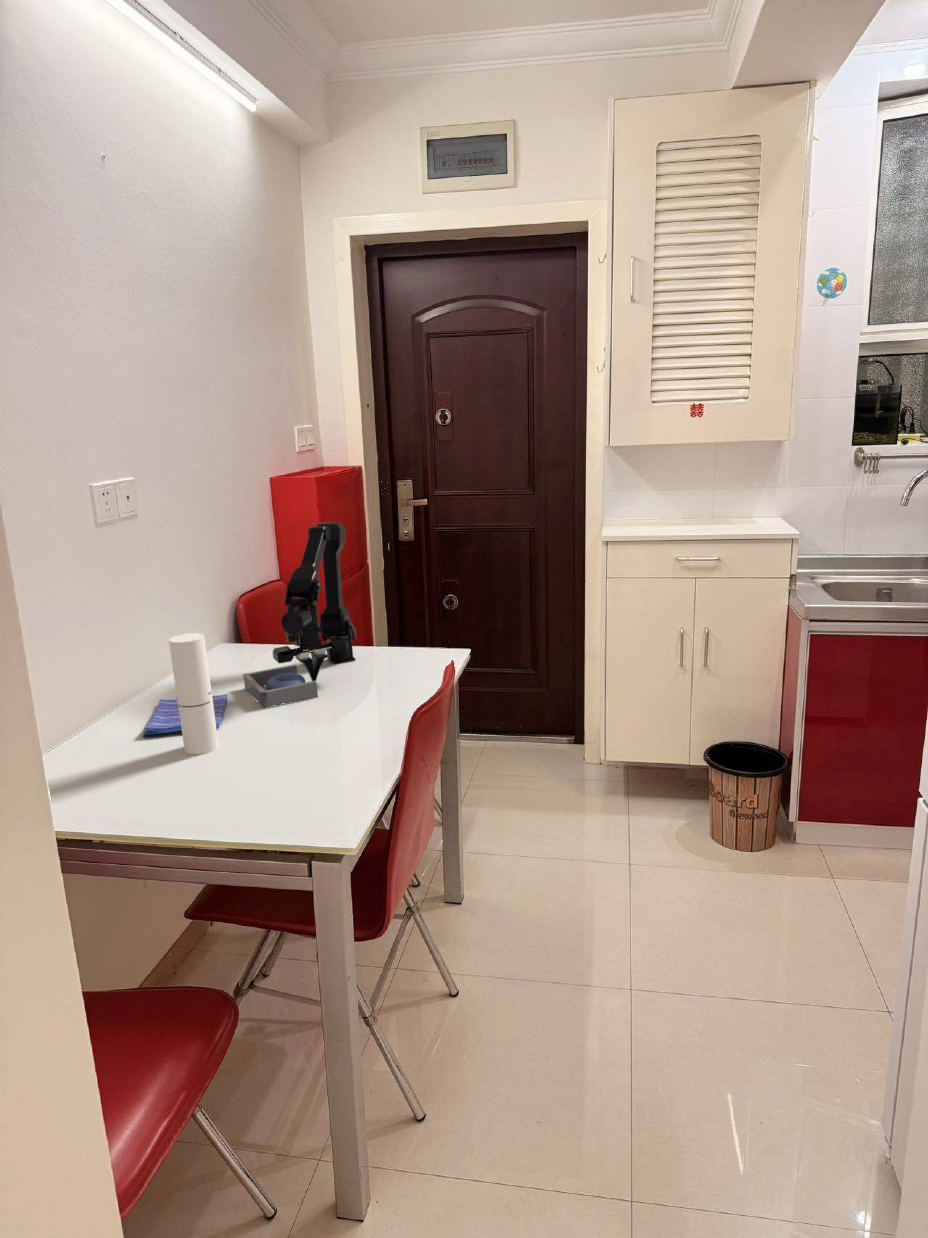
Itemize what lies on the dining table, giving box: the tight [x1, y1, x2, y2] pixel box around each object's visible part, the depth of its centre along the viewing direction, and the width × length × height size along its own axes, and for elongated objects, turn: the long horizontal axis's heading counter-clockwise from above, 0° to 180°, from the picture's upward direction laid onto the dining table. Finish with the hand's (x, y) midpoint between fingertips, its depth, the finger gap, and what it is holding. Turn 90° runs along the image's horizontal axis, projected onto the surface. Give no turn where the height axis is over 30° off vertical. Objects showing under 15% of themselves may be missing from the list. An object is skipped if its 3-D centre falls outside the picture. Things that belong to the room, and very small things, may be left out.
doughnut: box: [266, 673, 307, 691], centre depth 219 cm, size 10×10×5 cm
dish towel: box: [142, 694, 229, 739], centre depth 204 cm, size 17×24×3 cm
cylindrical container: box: [168, 632, 220, 755], centre depth 181 cm, size 7×7×25 cm
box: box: [243, 664, 319, 709], centre depth 217 cm, size 14×18×4 cm
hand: (313, 680), depth 222 cm, fingers closed
